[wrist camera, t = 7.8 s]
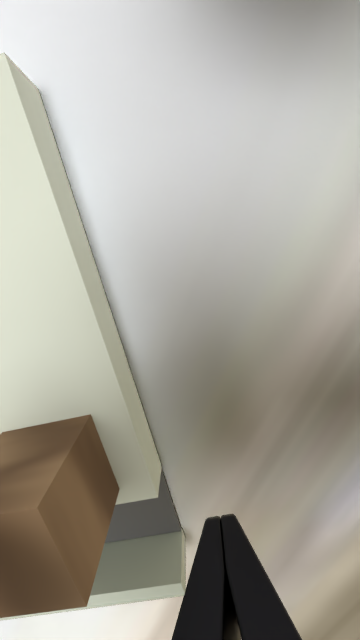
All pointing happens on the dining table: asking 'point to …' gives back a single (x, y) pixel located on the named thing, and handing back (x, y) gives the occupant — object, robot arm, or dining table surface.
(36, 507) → the block
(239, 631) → the robot arm
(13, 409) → the trap tray
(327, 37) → the dining table surface
